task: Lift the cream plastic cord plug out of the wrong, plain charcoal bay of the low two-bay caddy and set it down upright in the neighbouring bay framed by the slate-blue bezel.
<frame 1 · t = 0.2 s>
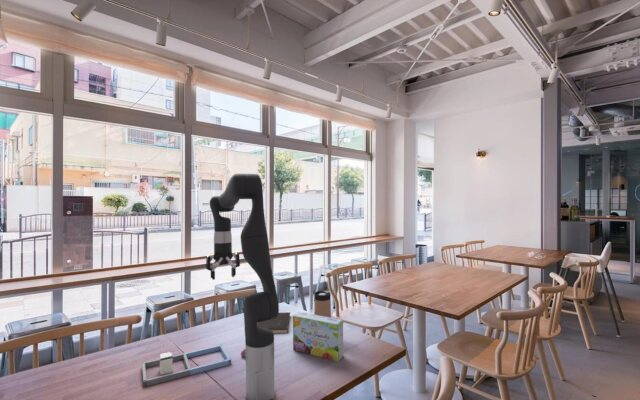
hand: (223, 278, 147), 29 cm above the table, fingers open, 8 cm apart
cord plug: (166, 371, 124), resting in caddy
video game controller: (251, 352, 139), on the table
snack box: (317, 354, 137), on the table
hardcover book: (273, 325, 169), on the table
travel mug: (322, 336, 153), on the table
caddy: (187, 365, 128), on the table
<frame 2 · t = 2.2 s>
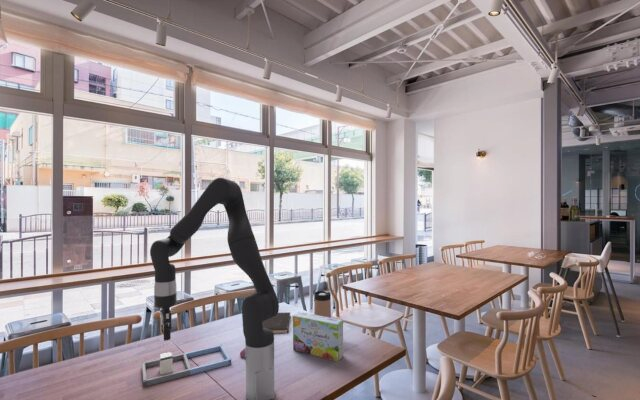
hand: (166, 335, 124), 13 cm above the table, fingers open, 8 cm apart
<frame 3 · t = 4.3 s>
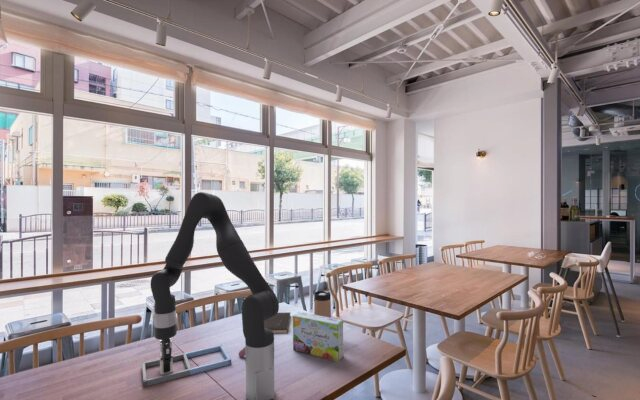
hand: (166, 368, 124), 1 cm above the table, fingers closed on cord plug, 4 cm apart
cord plug: (166, 370, 124), resting in caddy, touching gripper
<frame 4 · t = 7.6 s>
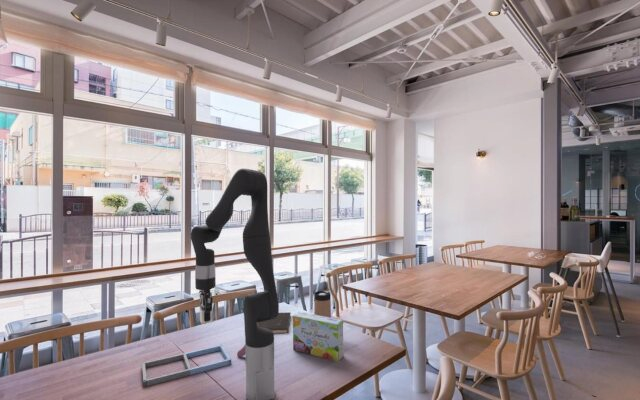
hand: (206, 319, 131), 17 cm above the table, fingers closed on cord plug, 4 cm apart
cord plug: (206, 321, 131), point 16 cm above the table, touching gripper
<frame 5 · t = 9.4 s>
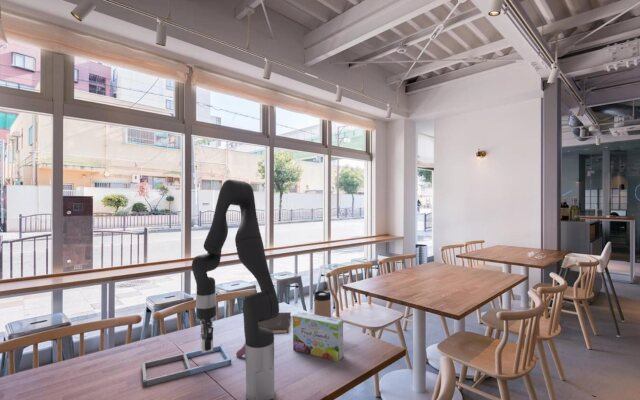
hand: (206, 347, 132), 5 cm above the table, fingers closed on cord plug, 4 cm apart
cord plug: (206, 349, 132), point 4 cm above the table, touching gripper
when the fingers open (2 cm above the table, at t = 10.9 s): cord plug drops 1 cm, resting in caddy.
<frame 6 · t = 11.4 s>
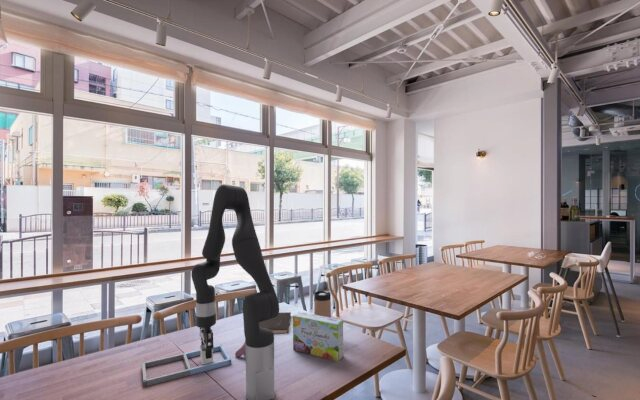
hand: (206, 353, 131), 3 cm above the table, fingers open, 8 cm apart
cord plug: (206, 361, 131), resting in caddy
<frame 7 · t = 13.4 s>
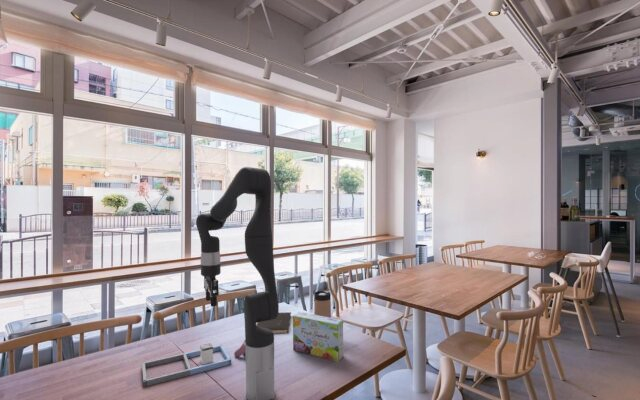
hand: (211, 303, 134), 22 cm above the table, fingers open, 8 cm apart
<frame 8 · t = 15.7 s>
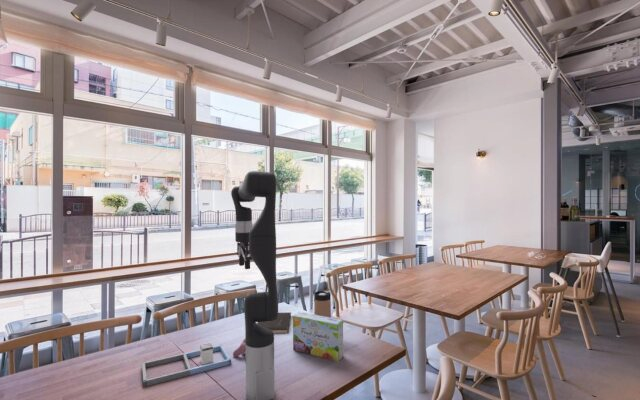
hand: (244, 267, 149), 33 cm above the table, fingers open, 8 cm apart
at the end: cord plug inside the target area on the caddy (0.1 cm from its centre), point 0.0 cm above the caddy's base; cord plug tilted 0°; the gripper is holding nothing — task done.
